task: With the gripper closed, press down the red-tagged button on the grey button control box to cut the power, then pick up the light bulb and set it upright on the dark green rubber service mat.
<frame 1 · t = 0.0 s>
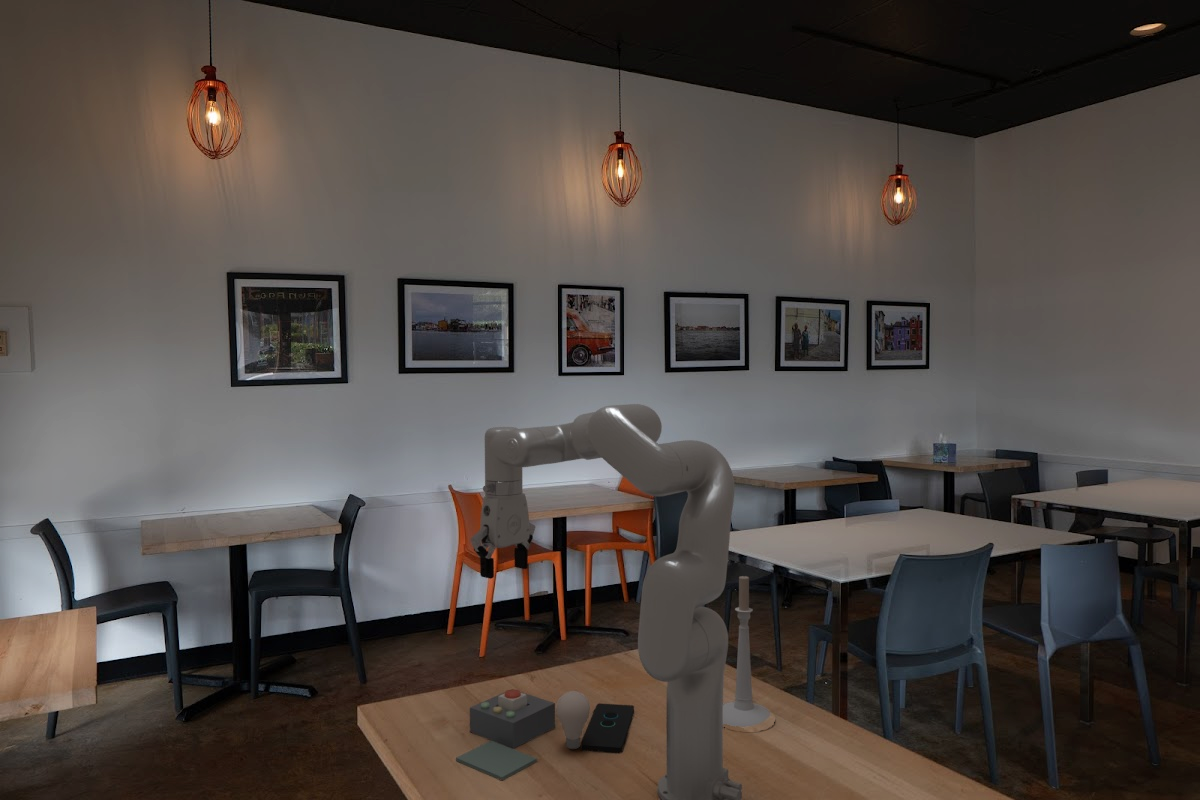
hand: (504, 572, 168), 31 cm above the table, tool pointing down, fingers open, 9 cm apart
grey button control box: (512, 729, 167), on the table
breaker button: (512, 701, 167), point 6 cm above the table, slide at 0.0 cm
light bulb: (573, 750, 158), on the table
smart home device: (608, 732, 167), on the table
service mat: (496, 761, 154), on the table
candlestick: (743, 720, 172), on the table
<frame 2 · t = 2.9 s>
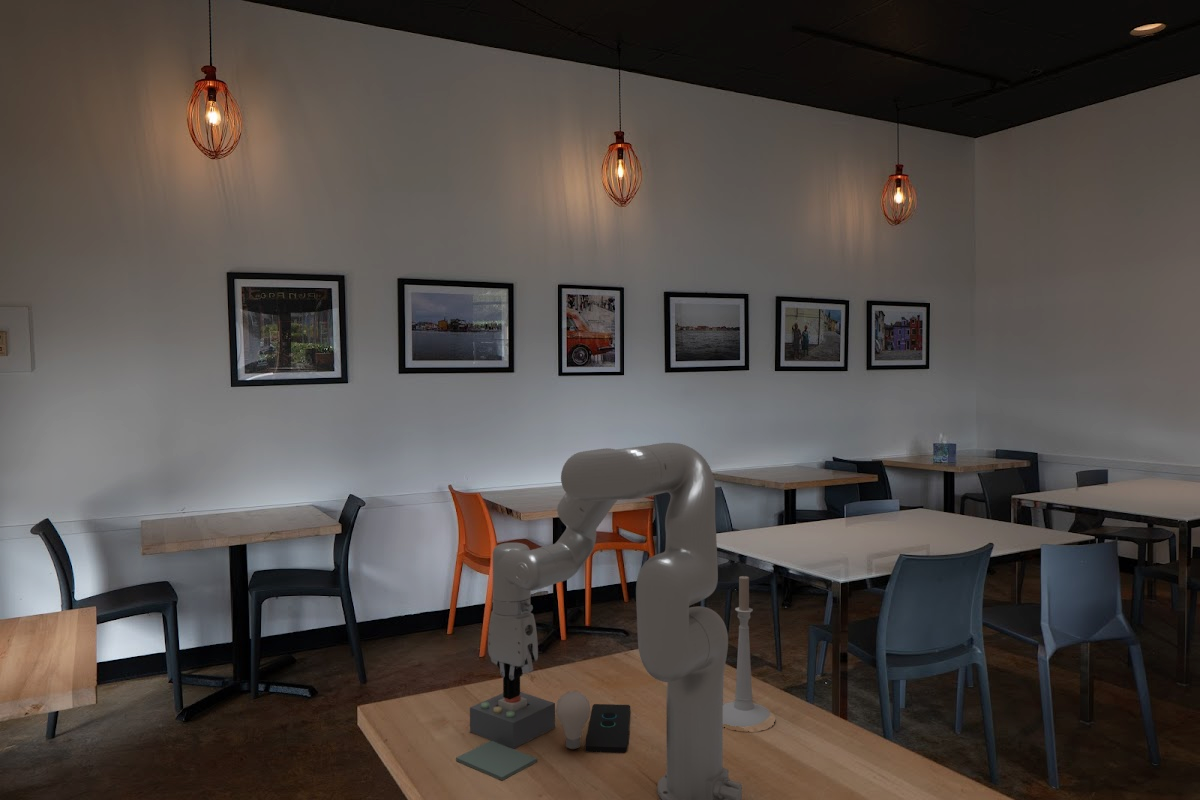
hand: (511, 696, 167), 7 cm above the table, tool pointing down, fingers closed
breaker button: (512, 705, 167), point 5 cm above the table, slide at 0.9 cm, touching gripper
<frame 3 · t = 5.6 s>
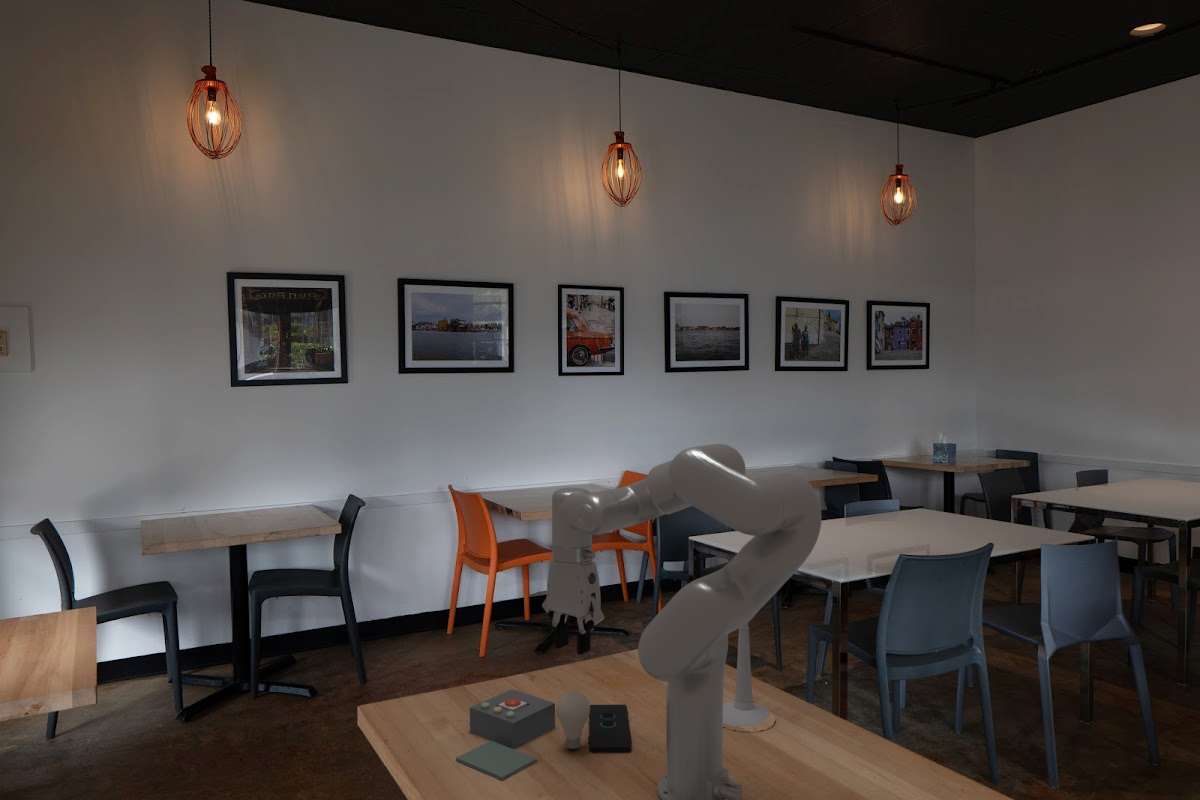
hand: (572, 648, 158), 19 cm above the table, tool pointing down, fingers open, 4 cm apart
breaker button: (512, 709, 167), point 4 cm above the table, slide at 1.7 cm
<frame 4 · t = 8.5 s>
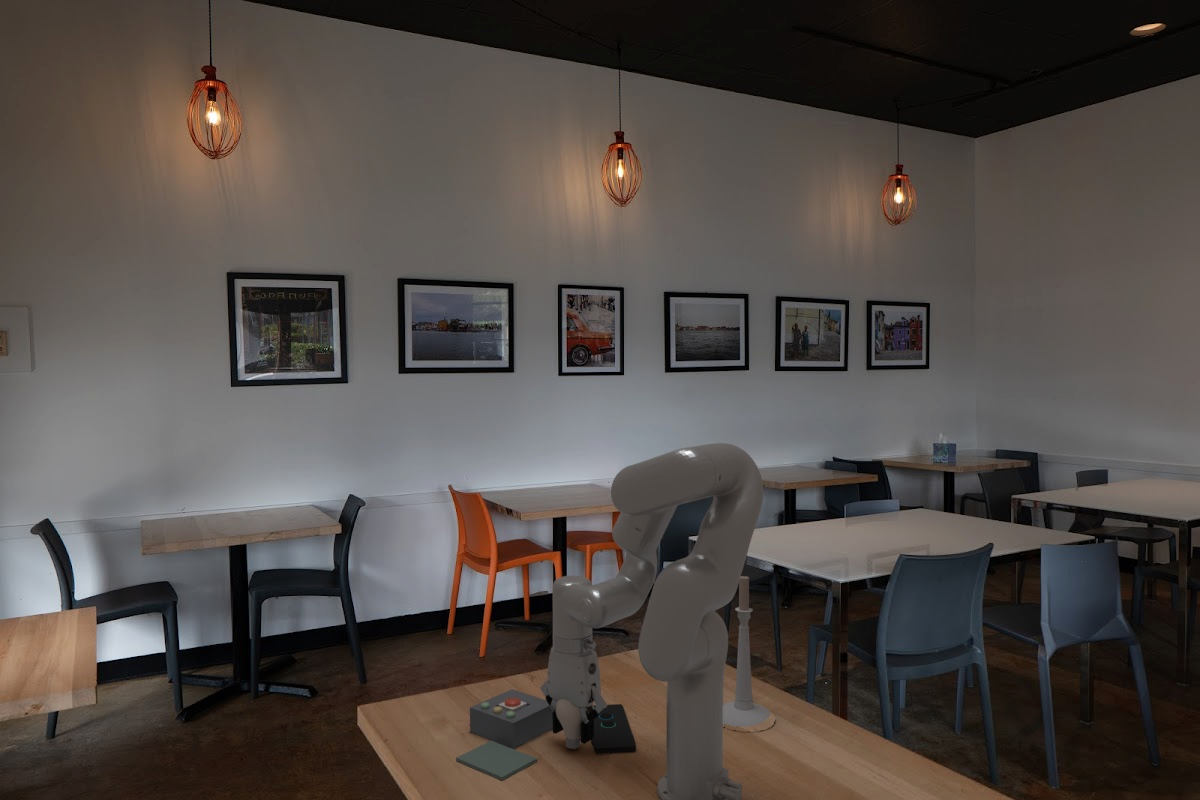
hand: (573, 735, 158), 3 cm above the table, tool pointing down, fingers closed on light bulb, 6 cm apart
light bulb: (573, 749, 158), on the table, touching gripper
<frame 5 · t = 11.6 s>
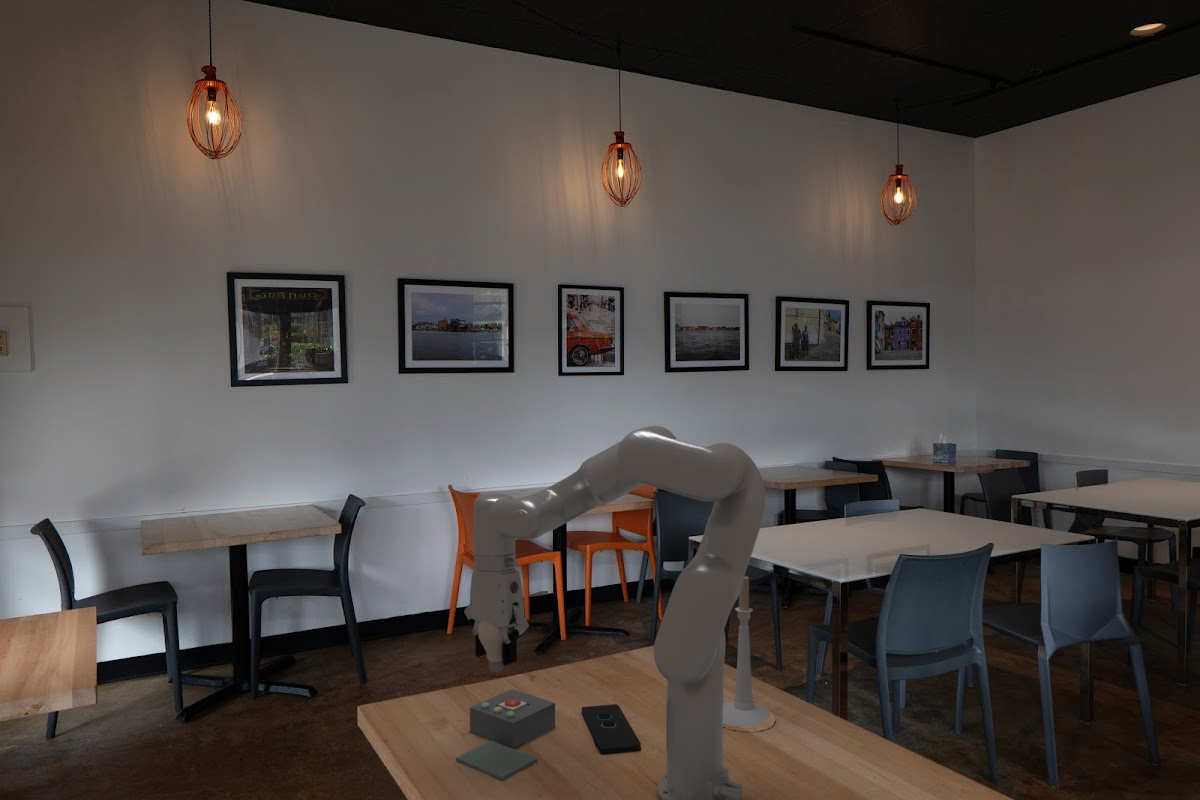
hand: (496, 658, 153), 19 cm above the table, tool pointing down, fingers closed on light bulb, 6 cm apart
light bulb: (496, 673, 153), point 16 cm above the table, touching gripper
when the fingers open (4 cm above the table, at t = 14.8 s): light bulb drops 1 cm, resting on service mat.
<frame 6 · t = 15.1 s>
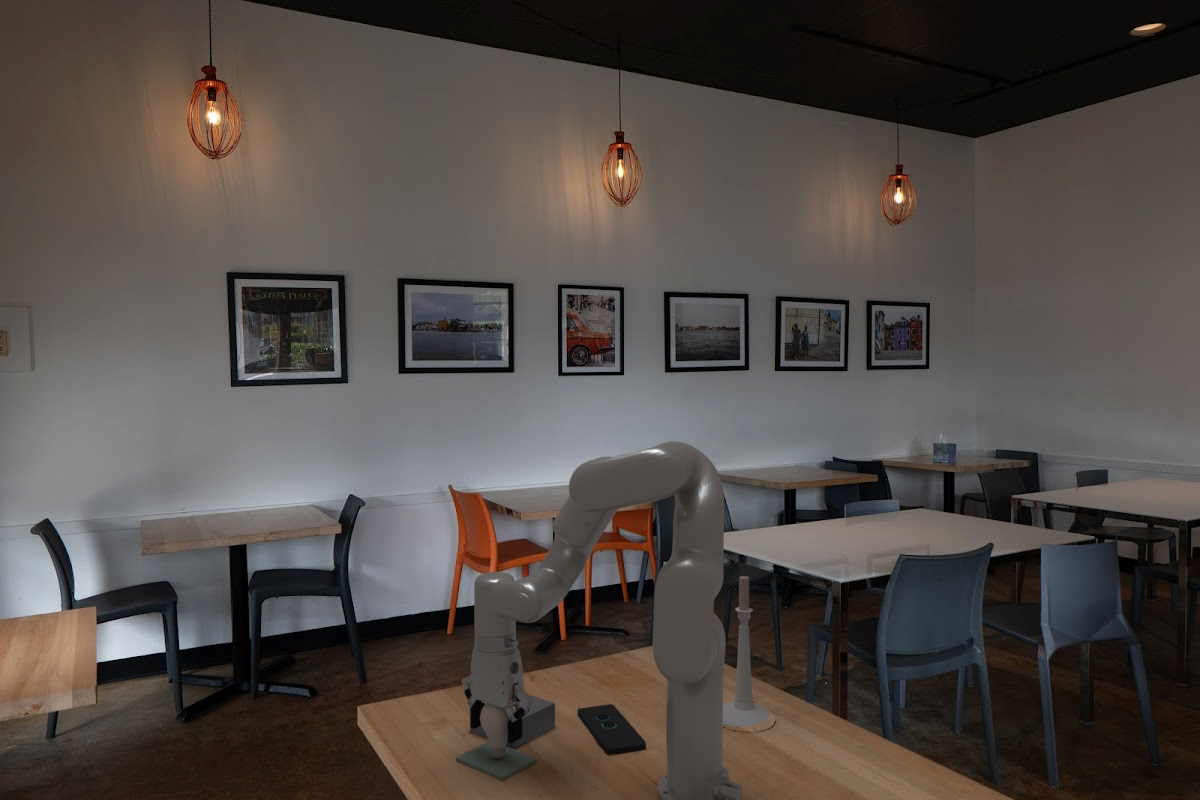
hand: (496, 733, 153), 5 cm above the table, tool pointing down, fingers open, 9 cm apart
light bulb: (497, 759, 153), resting on service mat
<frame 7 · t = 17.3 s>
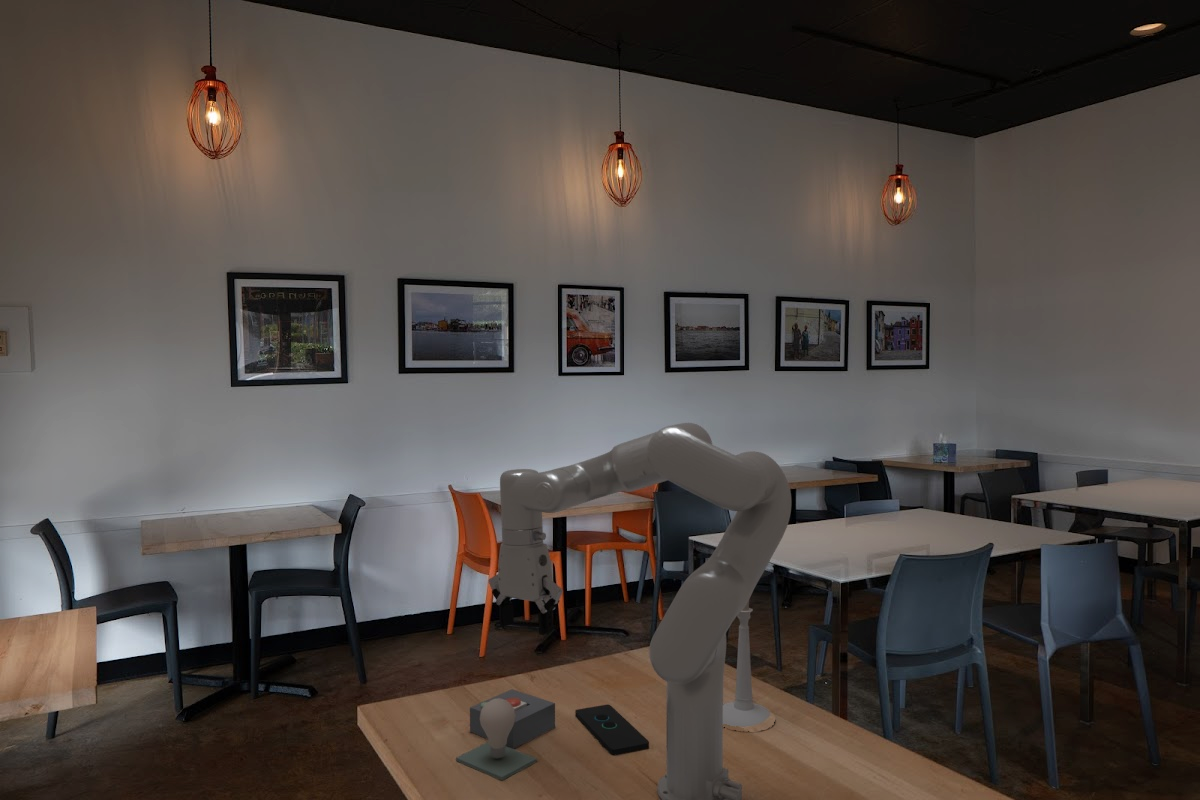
hand: (526, 628, 154), 24 cm above the table, tool pointing down, fingers open, 9 cm apart
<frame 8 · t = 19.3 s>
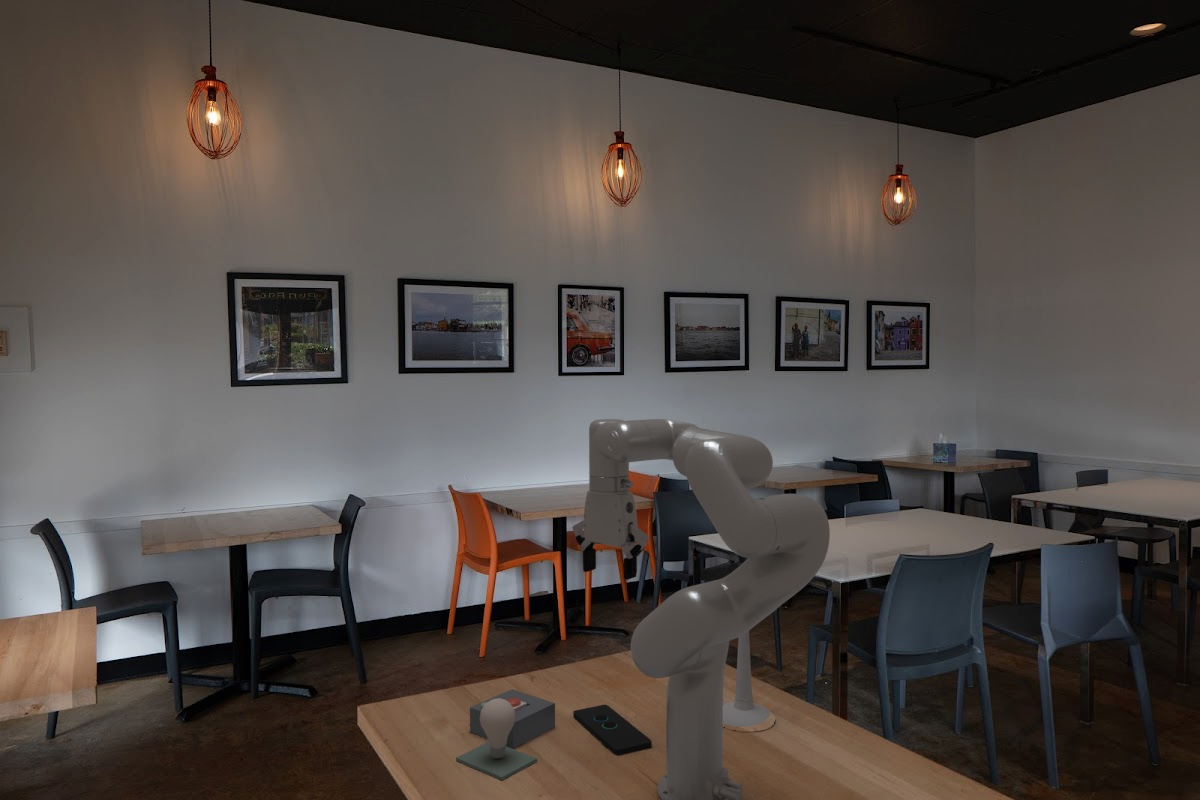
hand: (609, 574, 158), 33 cm above the table, tool pointing down, fingers open, 9 cm apart
at the end: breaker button slide at 1.7 cm; light bulb inside the target area on the service mat (0.3 cm from its centre), point 0.4 cm above the service mat's base; light bulb tilted 0° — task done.
